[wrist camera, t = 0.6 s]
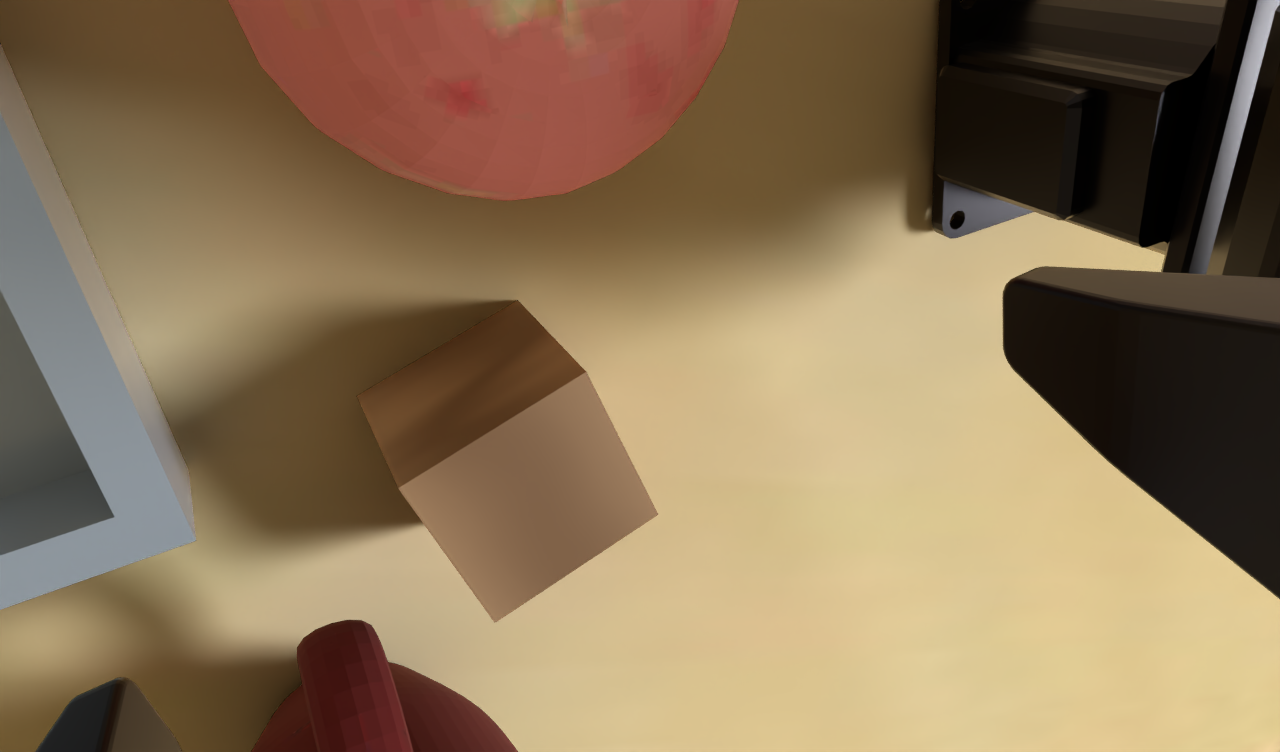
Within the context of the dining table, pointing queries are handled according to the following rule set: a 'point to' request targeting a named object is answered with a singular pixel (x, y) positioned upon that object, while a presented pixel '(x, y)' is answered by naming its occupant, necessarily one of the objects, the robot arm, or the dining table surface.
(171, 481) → the dish
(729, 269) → the dining table surface
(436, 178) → the apple
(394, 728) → the mug
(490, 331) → the walnut block
